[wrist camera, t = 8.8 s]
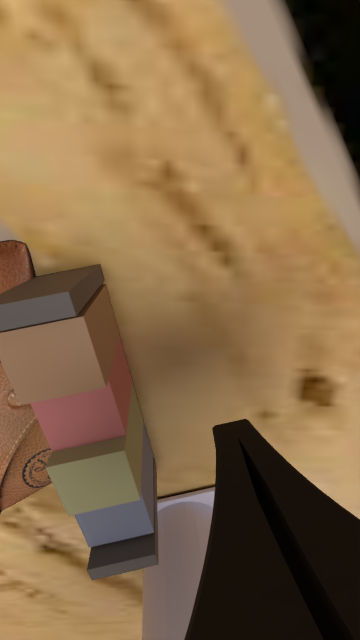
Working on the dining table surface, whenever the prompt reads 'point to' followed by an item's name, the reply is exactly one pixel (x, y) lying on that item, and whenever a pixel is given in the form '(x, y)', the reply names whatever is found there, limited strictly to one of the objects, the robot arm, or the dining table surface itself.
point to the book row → (85, 412)
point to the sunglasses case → (18, 406)
